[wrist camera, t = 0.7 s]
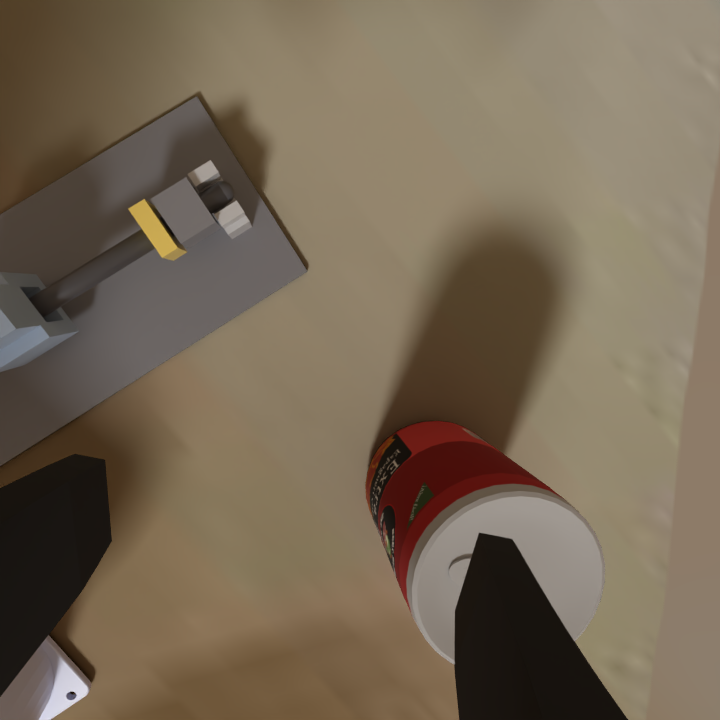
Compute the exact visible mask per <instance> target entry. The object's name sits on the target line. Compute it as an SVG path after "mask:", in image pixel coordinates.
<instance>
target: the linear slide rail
mask: <svg viewBox="0 0 720 720" xmlns="http://www.w3.org/2000/svg"><path fill="white" fill-rule="evenodd" d="M0 272H8V273H24V274H36V275H37V276H38V277H39V279H40V280H41V281H42V283H43V284H44V285H45V287H46V288H44V289H43V290H41V291H40V292H38V293H36V294H35V295H33V296H31V297H30V298H28V299H29V300H30V301H31V303H32V304H33V305H34V307H35V308H36V309H37V311H38V312H39V313H40V314H41V316H42V317H43V318H44V317H45V316H47V315H49V314H50V313H52V312H53V311H55V310H57V309H58V308H60V307H61V308H62V309H63V310H64V312H65V313H66V314H67V316H68V317H69V318H70V320H71V321H72V322H73V323H74V325H75V326H76V327H77V329H78V330H79V332H77V333H75V334H74V335H72V336H71V337H69V338H67V339H66V340H64V341H63V342H61V343H59V344H58V345H56V346H55V347H53V348H51V349H50V350H48V351H47V352H45V353H43V354H42V355H40V356H39V357H37V358H35V359H34V360H32V361H31V362H29V363H27V364H26V365H23V366H20V367H16V368H13V369H9V370H6V371H3V372H0V466H1V465H3V464H4V463H6V462H7V461H9V460H11V459H12V458H14V457H15V456H17V455H18V454H20V453H22V452H23V451H25V450H26V449H28V448H29V447H31V446H33V445H34V444H36V443H37V442H39V441H40V440H42V439H44V438H45V437H47V436H48V435H50V434H52V433H53V432H55V431H56V430H58V429H59V428H61V427H63V426H64V425H66V424H67V423H69V422H70V421H72V420H74V419H75V418H77V417H78V416H80V415H82V414H83V413H85V412H86V411H88V410H89V409H91V408H93V407H94V406H96V405H97V404H99V403H100V402H102V401H104V400H105V399H107V398H108V397H110V396H111V395H113V394H115V393H116V392H118V391H119V390H121V389H123V388H124V387H126V386H127V385H129V384H130V383H132V382H134V381H135V380H137V379H138V378H140V377H141V376H143V375H145V374H146V373H148V372H149V371H151V370H152V369H154V368H156V367H157V366H159V365H160V364H162V363H164V362H165V361H167V360H168V359H170V358H171V357H173V356H175V355H176V354H178V353H179V352H181V351H182V350H184V349H186V348H187V347H189V346H190V345H192V344H194V343H195V342H197V341H198V340H200V339H201V338H203V337H205V336H206V335H208V334H209V333H211V332H212V331H214V330H216V329H217V328H219V327H220V326H222V325H223V324H225V323H227V322H228V321H230V320H231V319H233V318H235V317H236V316H238V315H239V314H241V313H242V312H244V311H246V310H247V309H249V308H250V307H252V306H253V305H255V304H257V303H258V302H260V301H261V300H263V299H264V298H266V297H268V296H269V295H271V294H272V293H274V292H276V291H277V290H279V289H280V288H282V287H283V286H285V285H287V284H288V283H290V282H291V281H293V280H294V279H296V278H298V277H299V276H301V275H302V274H304V273H305V272H307V270H306V268H305V267H304V265H303V263H302V262H301V260H300V259H299V257H298V255H297V254H296V252H295V251H294V249H293V248H292V246H291V244H290V243H289V241H288V240H287V238H286V236H285V235H284V233H283V232H282V230H281V229H280V227H279V225H278V224H277V222H276V221H275V219H274V217H273V216H272V214H271V213H270V211H269V210H268V208H267V206H266V205H265V203H264V202H263V200H262V199H261V197H260V195H259V194H258V192H257V191H256V189H255V187H254V186H253V184H252V183H251V181H250V180H249V178H248V176H247V175H246V173H245V172H244V170H243V168H242V167H241V165H240V164H239V162H238V161H237V159H236V157H235V156H234V154H233V153H232V151H231V150H230V148H229V146H228V145H227V143H226V142H225V140H224V138H223V137H222V135H221V134H220V132H219V131H218V129H217V127H216V126H215V124H214V123H213V121H212V119H211V118H210V116H209V115H208V113H207V112H206V110H205V108H204V107H203V105H202V104H201V102H200V100H199V99H198V97H197V96H196V97H194V98H193V99H191V100H189V101H188V102H186V103H184V104H183V105H181V106H179V107H178V108H176V109H175V110H173V111H171V112H170V113H168V114H166V115H165V116H163V117H161V118H160V119H158V120H156V121H155V122H153V123H151V124H150V125H148V126H146V127H145V128H143V129H141V130H140V131H138V132H136V133H135V134H133V135H131V136H130V137H128V138H126V139H125V140H123V141H121V142H120V143H118V144H116V145H115V146H113V147H111V148H110V149H108V150H106V151H105V152H103V153H101V154H100V155H98V156H96V157H95V158H93V159H91V160H90V161H88V162H86V163H85V164H83V165H81V166H80V167H78V168H76V169H75V170H73V171H72V172H70V173H68V174H67V175H65V176H63V177H62V178H60V179H58V180H57V181H55V182H53V183H52V184H50V185H48V186H47V187H45V188H43V189H42V190H40V191H38V192H37V193H35V194H33V195H32V196H30V197H28V198H27V199H25V200H23V201H22V202H20V203H18V204H17V205H15V206H13V207H12V208H10V209H8V210H7V211H5V212H3V213H2V214H0Z"/></svg>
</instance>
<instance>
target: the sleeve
mask: <svg viewBox="0 0 720 720" xmlns="http://www.w3.org/2000/svg"><path fill="white" fill-rule="evenodd" d="M44 288H46V287H45V285H44V284H43V283H42V281H41V280H40V279H39V277H38V276H37V275H36V274H24V273H8V272H0V372H3V371H6V370H9V369H13V368H16V367H20V366H23V365H26V364H27V363H29V362H31V361H32V360H34V359H35V358H37V357H39V356H40V355H42V354H43V353H45V352H47V351H48V350H50V349H51V348H53V347H55V346H56V345H58V344H59V343H61V342H63V341H64V340H66V339H67V338H69V337H71V336H72V335H74V334H75V333H77V332H79V330H78V329H77V327H76V326H75V325H74V323H73V322H72V321H71V320H70V318H69V317H68V316H67V314H66V313H65V312H64V310H63V309H62V308H61V307H60V308H58V309H57V310H55V311H53V312H52V313H50V314H49V315H47V316H45V317H44V318H43V317H42V316H41V314H40V313H39V312H38V311H37V309H36V308H35V307H34V305H33V304H32V303H31V301H30V300H29V299H28V298H30V297H31V296H33V295H35V294H36V293H38V292H40V291H41V290H43V289H44Z"/></svg>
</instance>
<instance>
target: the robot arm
mask: <svg viewBox="0 0 720 720" xmlns="http://www.w3.org/2000/svg"><path fill="white" fill-rule="evenodd" d="M111 541H112V539H111V527H110V515H109V503H108V491H107V479H106V467H105V460H103V459H98V458H93V457H88V456H82V455H77V454H74V455H71V456H69V457H66V458H64V459H62V460H59V461H57V462H55V463H53V464H50V465H48V466H46V467H44V468H42V469H40V470H38V471H35V472H33V473H31V474H29V475H27V476H25V477H23V478H21V479H19V480H16V481H14V482H12V483H10V484H8V485H6V486H4V487H2V488H0V720H51V719H52V718H54V717H55V716H57V715H58V714H60V713H61V712H63V711H64V710H66V709H67V708H69V707H70V706H71V705H73V704H74V703H76V702H77V701H79V700H80V699H82V698H83V697H85V696H86V695H87V694H88V693H89V690H90V688H91V682H90V680H89V679H88V678H87V677H86V676H85V675H84V674H83V673H82V672H81V670H80V669H79V668H78V667H77V666H76V665H75V664H74V663H73V662H72V661H71V659H70V658H69V657H68V656H67V655H66V654H65V653H64V652H63V651H62V649H61V648H60V647H59V646H58V645H57V644H56V643H55V642H54V641H53V639H52V638H51V637H50V636H49V634H50V632H51V631H52V630H53V628H54V627H55V626H56V625H57V623H58V622H59V621H60V619H61V618H62V617H63V615H64V614H65V613H66V611H67V610H68V609H69V607H70V606H71V605H72V604H73V602H74V601H75V599H76V598H77V597H78V595H79V594H80V593H81V591H82V590H83V588H84V587H85V585H86V583H87V582H88V580H89V579H90V577H91V575H92V574H93V572H94V571H95V569H96V567H97V566H98V564H99V562H100V560H101V559H102V557H103V555H104V553H105V552H106V550H107V548H108V546H109V545H110V543H111ZM454 645H455V679H456V690H457V700H458V710H459V720H628V719H627V718H626V716H625V715H624V713H623V712H622V711H621V709H620V708H619V706H618V705H617V704H616V702H615V701H614V699H613V698H612V696H611V695H610V694H609V692H608V691H607V689H606V688H605V687H604V685H603V684H602V682H601V681H600V679H599V678H598V676H597V675H596V673H595V672H594V670H593V669H592V667H591V666H590V664H589V663H588V662H587V660H586V658H585V657H584V655H583V654H582V652H581V651H580V649H579V648H578V646H577V644H576V643H575V641H574V640H573V638H572V637H571V635H570V634H569V632H568V631H567V629H566V627H565V626H564V624H563V623H562V621H561V619H560V618H559V616H558V615H557V613H556V611H555V610H554V608H553V607H552V605H551V603H550V602H549V600H548V598H547V597H546V595H545V593H544V592H543V590H542V588H541V587H540V585H539V583H538V581H537V580H536V578H535V576H534V575H533V573H532V571H531V569H530V568H529V566H528V564H527V563H526V561H525V559H524V557H523V556H522V554H521V552H520V550H519V549H518V547H517V545H516V544H515V542H514V541H513V539H510V538H505V537H500V536H495V535H490V534H484V533H479V534H478V537H477V540H476V544H475V547H474V550H473V553H472V557H471V560H470V563H469V566H468V570H467V573H466V576H465V579H464V583H463V586H462V589H461V592H460V596H459V599H458V602H457V605H456V609H455V641H454ZM70 692H75V693H76V694H75V695H74V694H71V693H70Z"/></svg>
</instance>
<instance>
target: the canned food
mask: <svg viewBox="0 0 720 720" xmlns="http://www.w3.org/2000/svg"><path fill="white" fill-rule="evenodd" d="M366 499H367V502H368V506H369V510H370V512H371V515H372V517H373V520H374V522H375V525H376V527H377V530H378V533H379V535H380V538H381V540H382V543H383V545H384V548H385V550H386V553H387V555H388V558H389V560H390V563H391V566H392V568H393V571H394V573H395V576H396V578H397V581H398V583H399V586H400V588H401V591H402V593H403V596H404V598H405V600H406V602H407V604H408V607H409V609H410V612H411V614H412V616H413V618H414V620H415V622H416V624H417V626H418V628H419V630H420V631H421V632H422V634H423V636H424V638H425V639H426V640H427V642H428V643H429V644H430V645H431V646H432V647H433V649H434V650H435V651H436V652H437V653H438V654H440V655H441V656H442V657H444V658H445V659H446V660H448V661H449V662H451V663H453V664H455V645H454V641H455V609H456V605H457V602H458V599H459V596H460V592H461V589H462V586H463V583H464V579H465V576H466V573H467V570H468V566H469V563H470V560H471V557H472V553H473V550H474V547H475V544H476V540H477V537H478V534H479V533H484V534H490V535H495V536H500V537H505V538H510V539H513V541H514V542H515V544H516V545H517V547H518V549H519V550H520V552H521V554H522V556H523V557H524V559H525V561H526V563H527V564H528V566H529V568H530V569H531V571H532V573H533V575H534V576H535V578H536V580H537V581H538V583H539V585H540V587H541V588H542V590H543V592H544V593H545V595H546V597H547V598H548V600H549V602H550V603H551V605H552V607H553V608H554V610H555V611H556V613H557V615H558V616H559V618H560V619H561V621H562V623H563V624H564V626H565V627H566V629H567V631H568V632H569V634H570V635H571V637H572V638H573V640H574V641H576V639H577V638H578V637H579V636H580V635H581V634H582V633H583V632H584V630H585V629H586V627H587V626H588V624H589V623H590V621H591V620H592V618H593V617H594V615H595V612H596V610H597V608H598V605H599V603H600V600H601V597H602V592H603V588H604V583H605V562H604V557H603V552H602V547H601V545H600V543H599V540H598V538H597V535H596V533H595V531H594V530H593V529H592V527H591V526H590V524H589V523H588V522H587V520H586V519H585V518H584V517H583V516H582V515H581V514H580V513H579V512H578V511H577V510H576V509H575V508H574V507H573V506H572V505H571V504H570V503H568V502H567V501H566V500H565V499H564V498H562V497H561V496H560V495H558V494H557V493H555V492H554V491H553V490H552V489H551V488H550V487H548V486H547V485H545V484H544V483H543V482H541V481H540V480H539V479H537V478H536V477H534V476H533V475H532V474H530V473H529V472H527V471H526V470H525V469H523V468H522V467H521V466H519V465H518V464H516V463H515V462H514V461H512V460H511V459H510V458H508V457H507V456H505V455H504V454H503V453H501V452H500V451H498V450H497V449H496V448H494V447H493V446H492V445H490V444H489V443H487V442H486V441H485V440H483V439H482V438H481V437H479V436H478V435H476V434H475V433H474V432H472V431H470V430H468V429H467V428H465V427H463V426H460V425H457V424H454V423H451V422H442V421H430V422H420V423H416V424H412V425H409V426H407V427H405V428H402V429H400V430H398V431H397V432H395V433H394V434H393V435H391V436H390V437H389V438H387V440H386V441H385V442H384V443H383V444H382V445H381V446H380V447H379V449H378V450H377V452H376V454H375V455H374V457H373V459H372V462H371V464H370V467H369V470H368V472H367V479H366Z"/></svg>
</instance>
